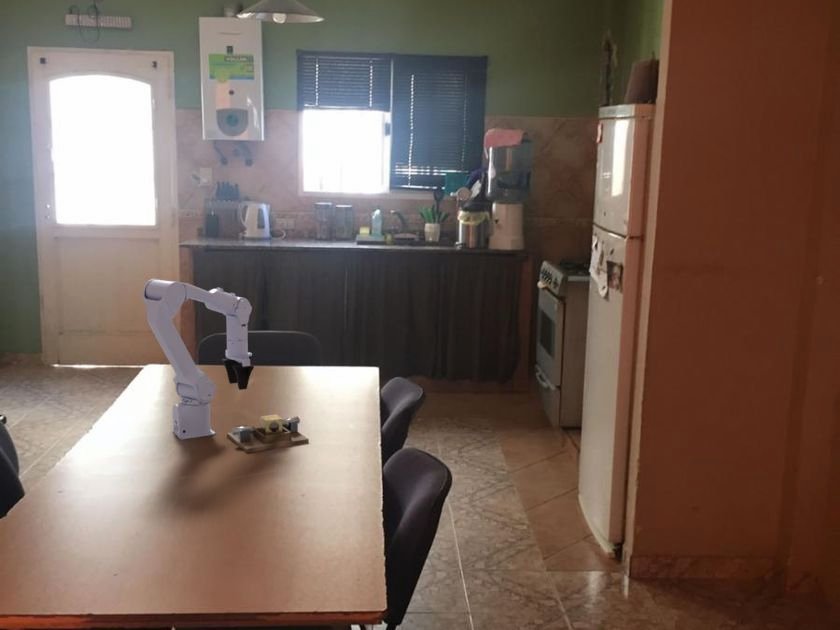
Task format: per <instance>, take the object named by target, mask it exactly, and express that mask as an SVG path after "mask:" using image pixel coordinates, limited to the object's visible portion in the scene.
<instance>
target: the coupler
mask: <svg viewBox="0 0 840 630" xmlns="http://www.w3.org/2000/svg"><path fill="white" fill-rule="evenodd" d="M282 420H283V418H282V417H281V416H280V415H278V414H276V413H275V414H269V415H261V416H260V417H259V428H260V432H261V433H262V434H263V435H265V436H266V435H272V434H278V433H282Z"/></svg>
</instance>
